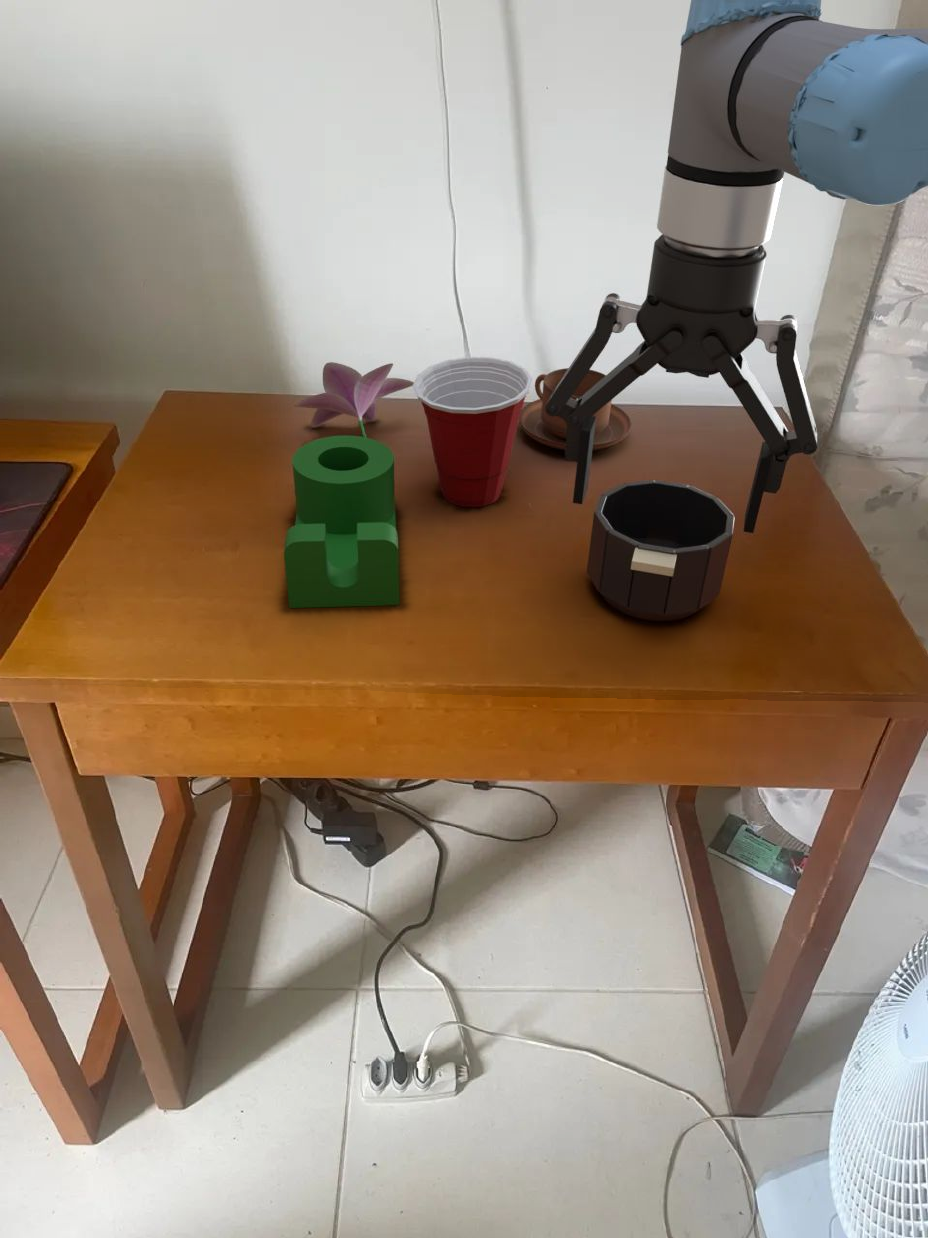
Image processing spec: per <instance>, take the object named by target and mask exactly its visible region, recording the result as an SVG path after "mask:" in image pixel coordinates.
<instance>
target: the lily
mask: <svg viewBox="0 0 928 1238" xmlns="http://www.w3.org/2000/svg"><path fill="white" fill-rule="evenodd" d="M393 366H394V363H392V362H391V363H387V364H383V365H381V366H379V367H377V368H375V369H372V370H370V371H369V372H367V373H365V374H363V375H362V374H361V373H360V372H359V371H358V370H356V369H354V368H353V367H351V366H348V365H345V364H344V363H343V364H342V363H338V362H333V361H329V362H326V363H325V364H324V366H323V368H322V386H323V390H324V392H322V393H318V394H314V395H313V396H309V397H307V398H304V399H303V400H300V401H298V402H296V403H295V404H294V405H293V406H294V408H308V409H316V410H315V411H314V414H313V416H312V419H311V423H310V424H311V428H316V427H319V426H321V425H323V424H324V423H327V422H328V421H330V420H333V419H334V418H337V417H338V416H339V417H340V416H341V415H347V416H351V417H354V418H357V419H358V422H359V425H360V430H361V433H362V437H366V438H367V434H366V431H365V427H364V423H363V420H365V421H369V422H375V420H376V417H377V413H378V412H377V410H378V404H377V401H378V400H380V399H382V398H384V397H387V396H388V395H390V394H393V393H396V392H399V391H403V390H405V389H409V388H411V387H413V384H414V382H415V381H411V380H409V379H404V378H397V377H388V376H389V374H390V372H391V370H392V368H393Z"/></svg>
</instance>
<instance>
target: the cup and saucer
mask: <svg viewBox="0 0 928 1238" xmlns="http://www.w3.org/2000/svg"><path fill="white" fill-rule="evenodd" d="M568 368H569V367H568ZM568 368H567V367H566V368H560V369H555V370H553V371H550V372H549V373H547V374H545V373H542V374H539V375H538V376H537V377H536V379H535V381H534V390H535V393H536V395H537V397H538V399H536V400H533V401H531V402H528V403H527V404H526V405H524V407H522V410H521V414H520V418H519V419H518V423H519V426H520V428H521V429H522V430H523V432H524V433H525V434H527V436H529V437H530V438H531V439H532V440H534V441H535V442H537V443H539V444H540V445H543V446H546V447H548V448H553V449H556V450H561V451H565V446H566V436H567V423H566V422H565V420H564V419H562V418H560V417H558V416H550V415H548V414H547V413H546V411H545V407H546V405H547V403H548V401H549V399H550V397H551V394H552V392H553V391H554V389H555V388H556V386H557V385H558V383H559V382H560V380H561V379H562V377H563V376H564V374H565V373H566V371H567V370H568ZM606 375H607V374H604V373H603V372H601V371H597V370H594V369H590V370H589V371H588V372H587V374H586V375H585V377H584V378H583V380H582V381H581V383H580V384H579V386H578V387H577V389H576V390H575V391H574V393H573V394H572V396H571V397H570V398H572V399H574V400H576V399H577V398H578V399H579V398H580V397H582V396H583V395H584V394H585V393H586V392H587V391H589V390H590V389H591V388H592V387H593V386H594V385H596V384H597V383H598V382H599V381H600V380H601V379H603V378H604V377H605V376H606ZM542 382H543V383H542ZM541 383H542V389H541ZM612 401H613V399H612V400H611V401H609V402H608V403H607V404H606V405H605V406H604V407H602V408H601V409H600V410H599V411H598V412H596V413H595V414H594V415H593V416H595V417H596V424H595V433H594V441H593V449H592V452H593V451H599V450H605V449H607V448H610V447H613V446H614V445H617V444H618V443H619V442H621V441H622V440H624V439H625V438H626V437H627V436H628V434H629V433H630V431H631V429H632V428H631V427H632V421H631V418H630V417H629V415H628V413H627V412H625V411H624V410H623V409H622V408H620V407H618V406H616V405H615V404H613V403H612Z"/></svg>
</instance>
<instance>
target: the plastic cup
mask: <svg viewBox="0 0 928 1238" xmlns="http://www.w3.org/2000/svg"><path fill="white" fill-rule="evenodd" d="M532 381H533V377H532V376H531V375H530V373H529V371H528V370H527V368H525V367H523V366H522V365H520V364H517V363H516V362H514V361H512V360H507V359H502V358H498V357H493V356H466V357H458V358H452V359H447V360H444V361H441V362H439V363H435V364H433V365H430V366H428V367H427V368H426V369H424V370H422V371H421V372H420V373H419V374H417V375H416V377H415V379H414V381H413V382H414V384H413V386H412V388H413V390H414V392H415V394H416V397H417V399H418V401H420V402H421V405H422V408H423V411H424V414H425V417H426V421H427V426H428V427H427V428H428V432H429V437H430V442H431V448H432V452H433V459H434V463H435V465H436V469H437V470H436V471H437V476H438V482H439V487H440V490H441V494H442V495H443V498H444V499H445V500H447V502H449V503H450V504H452V505H455V506H459V507H463V508H483V507H486V506H489V505H491V504H494V503H495V502H496V501H497V500H498V499H499V498H500V495H501V493H502V490H503V486H504V483H505V482H504V481H505V477H506V474H507V470H508V468H509V463H510V460H511V455H512V451H513V446H514V442H515V437H516V432H517V427H518V424H519V418H520V414H521V410H522V409H523V408H524V407H523V406H524V403H525V400H526V397H527V395H528V394H530V390H531V385H532Z"/></svg>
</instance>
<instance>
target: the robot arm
mask: <svg viewBox="0 0 928 1238" xmlns="http://www.w3.org/2000/svg"><path fill="white" fill-rule="evenodd" d="M821 7H822V0H690V5H689V10H688V15H687V21H686V25H685V26H686V27H685V31H684V33H683V34H682V35H681V39H680V56H679V62H678V63H679V64H678V71H677V78H676V87H675V95H674V101H673V109H672V116H671V125H670V132H669V140H668V146H667V147H668V148H667V160H666V165H665V166H664V172H663V178H662V186H661V193H660V201H659V208H658V216H657V222H656V228H657V230H658V232H659V233H661V234H660V235H659V237H658V238H657V239H655V241H654V244H653V249H652V257H651V263H650V270H649V278H648V284H647V285H648V286H647V290H646V292H647V293H646V297H645V300H644V301H643V303H642V304H641V305H640V304H637V303H631V302H628V301H623V300H622V298H621V296H620V295H619V294H618V293H614V292H611V293H608V294H607V295H606V296H605V298H604V300H603V303H602V305H601V307H600V309H599V312H598V315H597V320H596V325H595V327H594V329H593V331H592V333H590V335H589V336H588V338H587V340H586V341H585V343H584V345H583V346H582V347H581V349H580V350H579V352H578V353H577V355H576V356H575V357H574V360H573V361H572V362H571V363H570V365H569V367H568V370H567V371H566V373H565V374H564V376H563V377H562V379H561V380H560V382H559V383H558V385H557V386H556V388H555V389H554V391H553V392H552V394H551V397H550V399H549V401H548V403H547V405H546V407H545V411H546V413H547V414H548V415H550V416H558V417H560V418H562V419H564V420H565V422H566V423H567V436H566V446H565V450H564V458H565V460H566V461H567V462H573V463H576V470H575V480H574V489H573V498H572V504H576V505H583V502H584V500H585V497H586V494H587V491H588V490H589V481H590V474H591V473H590V472H591V465H592V456H593V451H592V449H593V441H594V433H595V424H596V417H595V416H593V415H594V414H595V413H596V412H598V411H599V410H600V409H601V408H602V407H604V406H605V405H606V404H607V403H608V402H609V401H611V400H612V401H613V400H614V398H616V397H617V396H618V395H619V394H621V393H622V392H623V391H624V390H625V389H627V387H629V386H630V385H631V384H632V383H633V382H635V381H636V380H638V379H639V377H642V376H644V375H646V373H648V372H649V371H650V370H651V369H652V368H654V367H655V366H657V364H658V365H659V366H660V367H661V368H663V369H665V373H670V374H683V373H689V374H690V375H694V376H695V377H697V378H698V377H699V378H708V379H710V378H709V377H710V376H713V375H716V374H720V376H721V377H722V379H723V380H724V382H725V383H726V385H727V386H728V388H729V389H732V392H733V393H734V394H735V397H736V398H737V399H738V400H739V402H740V404H741V406H742V407H743V409H744V410H745V412H746V414H747V415H748V417H749V418H750V420H751V422H752V423H753V425H754V426H755V428H756V429H757V431H758V432H759V434H760V435H761V437H762V439H763V440H764V441H762V444H761V447H760V451H759V456H758V459H757V464H756V468H755V473H754V476H753V481H752V484H751V488H750V493H749V496H748V502H747V505H746V510H745V514H744V523H743V532H744V533H749V534H754V532H755V528H756V524H757V520H758V515H759V511H760V509H761V504H762V499H763V496H764V493H768V494H769V493H770V494H775V495H776V494H777V493H778V492H779V491H780V489H781V485H782V482H783V478H784V474H785V470H786V467H787V464H788V463H787V462H788V461H789V460H790V458H791V457H792V456H793V455H796V454H801V453H802V454H804V455H809V456H810V455H812V454H815V453H816V452H817V450H818V428H817V426H816V421H815V417H814V413H813V410H812V406H811V403H810V398H809V396H808V392H807V387H806V385H805V381H804V377H803V373H802V370H801V366H800V362H799V359H798V355H797V351H796V344H797V335H798V334H797V333H798V332H797V331H798V320H797V318H796V316H794V315H792V314H785V315H783V316H782V317H781V318H780V319H779V320H778V319H777V320H775V319H773V320H771V319H758V317H757V313H756V306H757V302H758V297H759V292H760V288H761V283H762V278H763V273H764V269H765V264H766V260H767V251H766V249H765V247H764V246H763V244H765V243H767V242H768V241H769V240H770V239H771V236H772V231H773V227H774V222H775V217H776V213H777V208H778V204H779V199H780V194H781V189H782V185H783V180H784V176H785V173H786V174H788V175H791V177H792V176H793V177H795V178H797V179H799V180H801V181H804V182H806V183H807V184H810V185H812V186H814V187H815V189H816V190H818V191H819V192H826V193H827V195H829V196H830V197H833V198H837V199H840V200H851V201H854V202H859V203H861V204H864V205H869V206H875V207H876V206H878V207H883V206H884V207H885V206H891V205H897V204H899V203H902V202H904V201H905V200H908V199H909V198H910V197H911V196H912V195H914V194H915V193H917V192H918V191H920V190H922V189H924V188H927V187H928V28H925V27H923V28H922V27H921V28H863V27H855V26H850V25H844V24H838V23H833V22H828V21H823V20H820V18H821V16H822V9H821ZM629 324H636V327H637V329H638V331H639V333H640V335H641V336H642V339H643V340H644V341H642V342H641V343H640V344H639V345H638V346H637V347H636V348H635V349H634V351H633V352H632V353H630V354H629V355H628V356H626V357H625V358H624V359H623V360H622V361H621V362H620V363H619V364H618V365H617V366H615V367H614V368H613V369H611V370H610V371H609V372H608V373H607V374H605V375H606V376H605V377H604V378H603V379H601V380H600V381H599V382H598V383H597V384H596V385H594V386H593V387H592V388H591V389H590V390H589V391H587V392H586V393H585V394H584V395H583V396H582V397H580V398H579V399H578V398H577V399H576V400H574V399H572V398H570V397H571V396H572V394H573V393H574V391H575V390H576V389H577V387H578V386H579V384H580V383H581V381H582V380H583V378H584V377H585V375H586V374H587V372H588V371H589V370H591V368H592V367H593V365H594V364H595V362H596V360H597V359H598V358H599V357H600V355H601V353H602V352H603V351H604V349H605V348H606V346H607V344H608V343H609V340H610V339H611V337H612V334H613V333H614V334H620V333H622V332H624V330H625V329H626V327H627V326H628V325H629ZM756 339H759V340H761V341H762V342H763V344H764V349H765V350H766V352H768V353H770V354H772V355H773V354H775V363H776V368H777V373H778V376H779V379H780V382H781V387H782V390H783V394H784V397H785V402H786V404H787V408H788V412H789V415H790V418H791V422H792V426H793V430H790V431H789V430H788V428H787V426H786V425H785V423H784V422H783V420H782V419H781V417H780V415H779V414H778V412H777V411H776V409H775V407H774V406H773V403H772V402H771V400H770V399H769V398H768V396H767V395H766V394H767V393H766V392H765V391H764V390H763V388H762V386H761V385H760V383H759V381H758V380H757V378H756V376H755V375H754V373H753V371H752V370H751V368H750V367H749V363H748V361H747V359H746V357H745V356H744V354H743V352H744V351H745V350H746V349H747V348H748V347H749V346H750V345H751V344H753V342H754V341H755V340H756Z"/></svg>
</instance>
